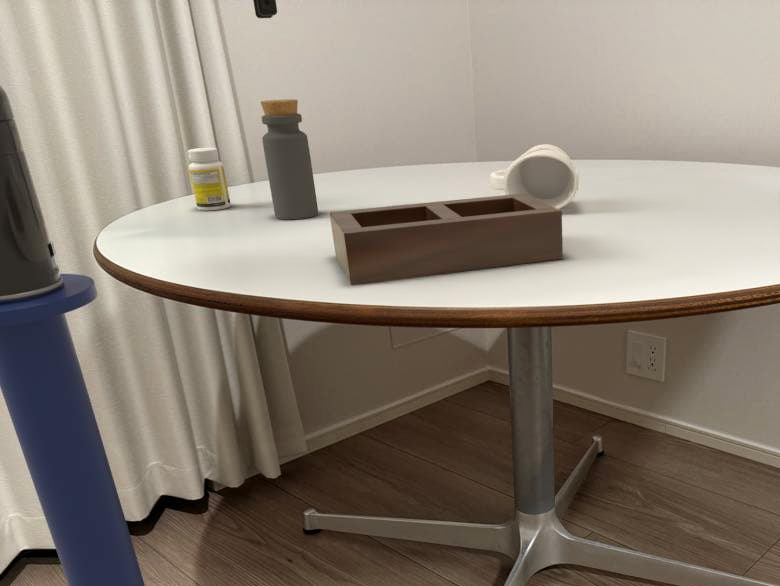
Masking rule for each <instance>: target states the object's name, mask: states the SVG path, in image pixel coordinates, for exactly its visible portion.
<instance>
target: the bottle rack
mask: <svg viewBox="0 0 780 586" xmlns="http://www.w3.org/2000/svg"><path fill="white" fill-rule="evenodd" d="M329 218H330V226H331V234H332V240H333V248H334V254H335V258H336V261H337V262H338V264H339V266H340V268H341V269H342V271H343V273H344V275H345V277H346V278H347V280H348V282H349V284H350V285H351V286H353V285H361V284H369V283H378V282H386V281H394V280H402V279H409V278H411V279H412V278H418V277H425V276H433V275H435V276H436V275H443V274H450V273H459V272H466V271H474V270H481V269H482V270H484V269H492V268H499V267H507V266H508V267H509V266H515V265H522V264H530V263H532V264H533V263H540V262H547V261H556V260H563V259H564V254H563V253H564V252H563V248H564V247H563V211H562V210H560V209H556V208H555V207H552V206H550V205H548V204H546V203H544V202H541V201H539V200H537V199H535V198H533V197H530V196H528V195H526V194H513V195H506V194H504V195H503V194H502V195H493V196H482V197H472V198H461V199H450V200H442V201H441V200H440V201H439V200H438V201H431V202H429V201H428V202H420V203H419V202H418V203H409V204H399V205H397V204H396V205H388V206H378V207H376V206H375V207H367V208H357V209H345V210H337V211H336V210H334V211H329Z"/></svg>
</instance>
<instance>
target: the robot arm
mask: <svg viewBox="0 0 780 586" xmlns="http://www.w3.org/2000/svg"><path fill="white" fill-rule="evenodd" d="M252 2H253V6H254V13H255V17H256V18H258V19H271V18H273V16H275V15H277V14H278V8H277V0H252ZM44 217H45V216H44V214H43V211H42V208H41V204H40V201H39V197H38V195H37V191H36V186H35V183H34V179H33V177H32V174H31V170H30V166H29V163H28V160H27V156H26V153H25V150H24V146H23V143H22V139H21V136H20V132H19V129H18V125H17V122H16V119H15V114H14V112H13V108H12V104H11V102H10V97H9V96H8V93H7V92H6V90H5V89H4V88H3V86H2V85H1V84H0V304H8V303H14V302H20V301H25V300H30V299H34V298H39V297H42V296H45V295H49V294H51V293H54V292H56V291H58V290H60V289H61V288H63V286H64V282H63V279H62V277H61V276H60V274H61V273H60V267H59V265H58V263H57V258H56V249H55V246H54V243H53V241H52V240H51V238H50V235H49V232H48V228H47V224H46V221H45V218H44Z"/></svg>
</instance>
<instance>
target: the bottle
mask: <svg viewBox="0 0 780 586" xmlns="http://www.w3.org/2000/svg"><path fill="white" fill-rule="evenodd" d="M260 106H261V108H262V111H263V113H264V115H261V123H262V125H266V127H267V132H266V133H265V134H263V136H262V137H261V140H262V146H263V147H262V148H263V154H264V159H265V165H266V171H267V178H268V181H269V182H268V183H269V188H270V194H271V199H272V206H273V211H274V216H275V218H276V219H279V220H303V219H310V218H313V217H316V216H318V215H319V207H318V200H317V199H318V198H317V193H316V186H315V180H314V179H315V178H314V172H313V166H312V159H311V152H310V146H309V140H308V139H309V138H308V134H306V133H305V132H304V131H302V130H300V128H299V124H300V123H302V122H303V118H302V117H303V116H302V114H300V113H298V99H293V98H291V99H285V98H284V99H270V100H268V99H267V100H261V101H260Z"/></svg>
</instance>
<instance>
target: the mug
mask: <svg viewBox="0 0 780 586" xmlns="http://www.w3.org/2000/svg"><path fill="white" fill-rule="evenodd" d="M579 174H580V173H579V168H577V169H576V167H575V165H574V163H573V162H572V159H570V157H569V155H568V154H567V153H566V152H565V151H564V150H563V149H562V148H560V147H558V146H556V145H553V144H549V143H548V144H546V143H543V144H538V145H535V146H532V147H531V148H530V149H528V150H527V151H525V152H524V153H523V154H521V155H520V156H519V157H517V158H516V159H515V160H514V161H512V162H511V164H510V165H509V166H508V168H507V169H499V170H495V171H492V172H491V173H490V175H489V177H490V178H489V179H490V187H491V189H494V190H498V191H504V195H513V194H526V195H528V196H530V197H533V198H535V199H537V200H539V201H541V202H544V203H546V204H548V205H550V206H552V207H555V208H556V209H559V210H560V209H562V208H564V207H565V206H567V205H568V204H569V203H570V202H571V201H572V200H574V198H575V196H576V195H577V191H579V186H580V185H579V178H580V177H579Z"/></svg>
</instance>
